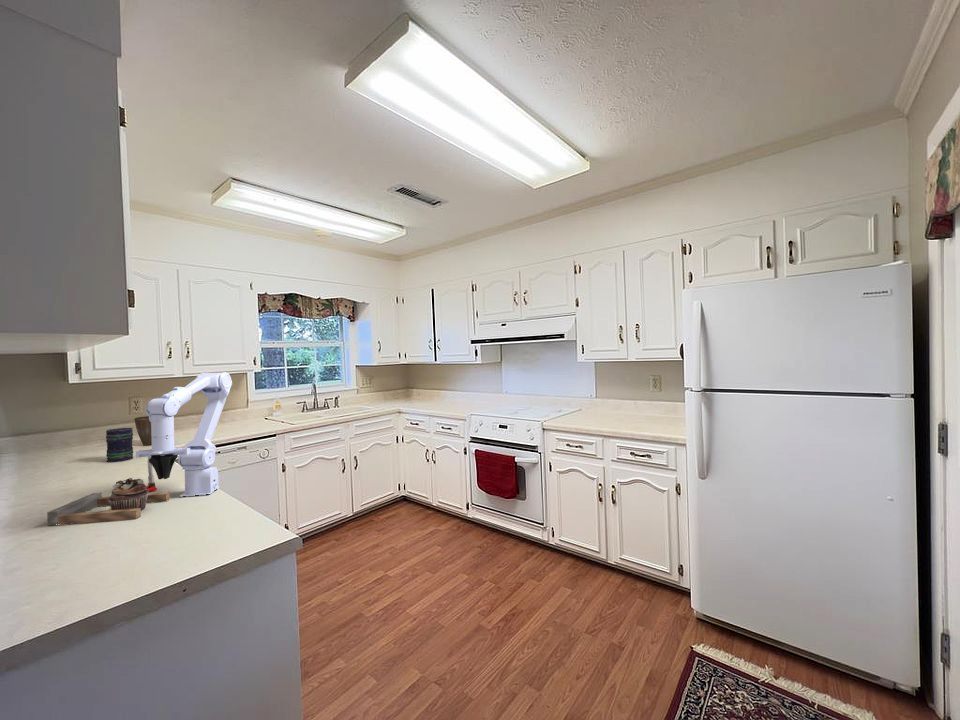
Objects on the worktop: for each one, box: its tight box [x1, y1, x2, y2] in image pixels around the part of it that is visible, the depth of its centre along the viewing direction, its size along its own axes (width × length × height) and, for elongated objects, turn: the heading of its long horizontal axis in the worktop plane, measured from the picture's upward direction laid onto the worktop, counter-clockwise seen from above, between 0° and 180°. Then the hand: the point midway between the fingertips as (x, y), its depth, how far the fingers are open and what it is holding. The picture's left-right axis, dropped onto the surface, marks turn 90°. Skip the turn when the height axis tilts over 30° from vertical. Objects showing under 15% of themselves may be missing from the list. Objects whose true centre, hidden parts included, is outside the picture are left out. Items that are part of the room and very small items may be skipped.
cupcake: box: [108, 477, 149, 511], centre depth 127 cm, size 10×10×10 cm
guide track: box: [46, 491, 171, 526], centre depth 126 cm, size 22×17×4 cm
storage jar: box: [105, 427, 134, 464], centre depth 196 cm, size 10×10×15 cm
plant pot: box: [133, 415, 152, 447], centre depth 234 cm, size 15×15×16 cm
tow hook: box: [145, 456, 158, 493], centre depth 145 cm, size 8×13×9 cm
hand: (164, 478), depth 128 cm, fingers closed
